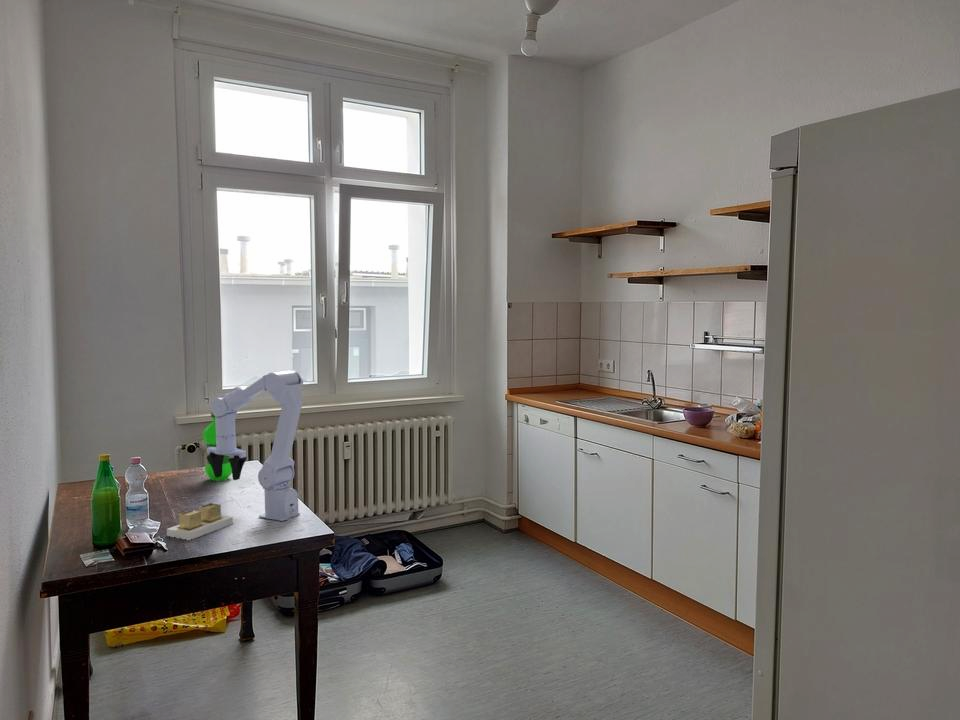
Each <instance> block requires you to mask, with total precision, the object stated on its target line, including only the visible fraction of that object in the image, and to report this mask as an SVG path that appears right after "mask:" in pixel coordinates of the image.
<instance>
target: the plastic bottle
mask: <svg viewBox="0 0 960 720" xmlns="http://www.w3.org/2000/svg"><path fill="white" fill-rule="evenodd" d="M210 418H212V422H210V424H208V425H207V426H206V427H205V428H204V429H203V431H202V440H203V442H204V443H205V444H206V449H207V448H209V447H216V423H215V416H214V415H213V413H212V412H211V411H210ZM206 455H207V456H210V454H207V453H206ZM207 456H206V457H207ZM230 458H232V456H226V455H224V458H223V464H222V476H221V477H218V478H215V475H214V472H213V469H212V467H211V464H210V463H209V461H208V460H207V459H206V461H207V463H206V466H205V467H204V473H205V475H206V476H207V478H209V479H210V480H212V481H213V480H216V481H215V482H220V481H219V480H223V481H226V480H225V479H227V480H228V478H229V477H230V476H232V468H231V465H230V462H229V459H230Z"/></svg>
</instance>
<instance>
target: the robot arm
mask: <svg viewBox="0 0 960 720" xmlns="http://www.w3.org/2000/svg"><path fill="white" fill-rule="evenodd" d="M303 385H304V380H303V378H302V377H301V375H300V374H299V372H298V371H297V370H294V369H290V370H285V371H278V372H275V371H274V372H269V373H267V374H265V375H262V377H260V378H259V379H258V380H256V381H255V382H253V383H252V384H250V385H248V386H235V387H233V389H234V390H233V391H230V392H227V393H225V394H223V396H222V397H215V398H214V399H213V400H212V401H211V402H210V413H211V412H212V413H213V415H214V416H215V423H216V447H209V448H207V447H206V455H207V454H210V456H206V461H207V460H208V461H209V463H210V464H211V467H212V469H213V472H214V475H215V478H218V477H221V476H222V464H223V458H224V455H226V456H231V458H230V459H229V462H230V465H231V468H232V474H231V476H232V480H233V481H237V480H240V479H241V475H242V470H243V467H244V464H245V462H246V461H247V460H248V459H247V458H248V457H247V450H245V449H244V450H243V449H240V448H237V444H236V443H237V439H236V437H237V436H236V419H237V413H238V411H239V410H240V409H242V408H243V407H245V406H247V405H249V404H250V403H251V402H252V401H253V397H256V396H257V395H259V394H261V393H264V392H267V393H268V394H269V395H270V396H271V397H272V398H273V399H274V400H275V401H276V402H277V404H280V406H281V409H280V414H279V417H278V422H277V426H276V429H275V430H276V431H275V435H274V439H273V444H272V449H271V452H270V455H269V456H268V457H267V458H266V460H265V461H264V462H263V463H262V467H261V469H260V470H259V471H258V475H257V480H258V483H259V485H260V486H261V487H262V489H263V490H264V491H263V492H264V493H263V494H264V513H262V514H260V515H258V518H263V519H268V520H274V521H281V522H284V521H287V520H289V519H292V518H294V517H296V516H298V514H299V515H300V514H301V512H300V511H299V494H298V492H297V490H296V489H294V488H292V487H291V485H292V484H291V482H292V481H293V479H294V478H295V467H294V466H295V463H296V462H295V460H293V459H292V457H291V453H292V449H293V445H294V439H295V437H296V434H297V433H296V432H297V428H298V424H299V420H300V415H301V411H302V407H303V395H302V390H303ZM293 516H294V517H293ZM286 519H287V520H286Z"/></svg>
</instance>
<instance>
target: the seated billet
mask: <svg viewBox="0 0 960 720" xmlns="http://www.w3.org/2000/svg"><path fill="white" fill-rule="evenodd" d="M178 523H179V524H178V525H179V529H183V530H188V531H190V530H193V529H196V528H198V527H201V511H199V510H194V509H188V510H185V511H182V512H180V513H178Z"/></svg>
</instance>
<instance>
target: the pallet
mask: <svg viewBox="0 0 960 720" xmlns="http://www.w3.org/2000/svg"><path fill="white" fill-rule="evenodd" d="M233 522H234V519H233V516H229V515H223V514H221V519H220V520H217V521H215V522H212V523H205V522H201V527H198V528H196V529H193V530H190V531H188V530H183V529H179V524H177V525H173V526H171V527H169V528H166V536H167V537H169V536H170V538H174V537H176V538H175V539H180V538H181V540H185V539H186V540H185V541H191V539H192V540H194V539H197V538H199V537H202V536H204V534H205V535H207V534H209V533H212V532H214V531H217V530H220V529H222V528H225V527H228V526H230V525H232V524H234V523H233Z"/></svg>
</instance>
